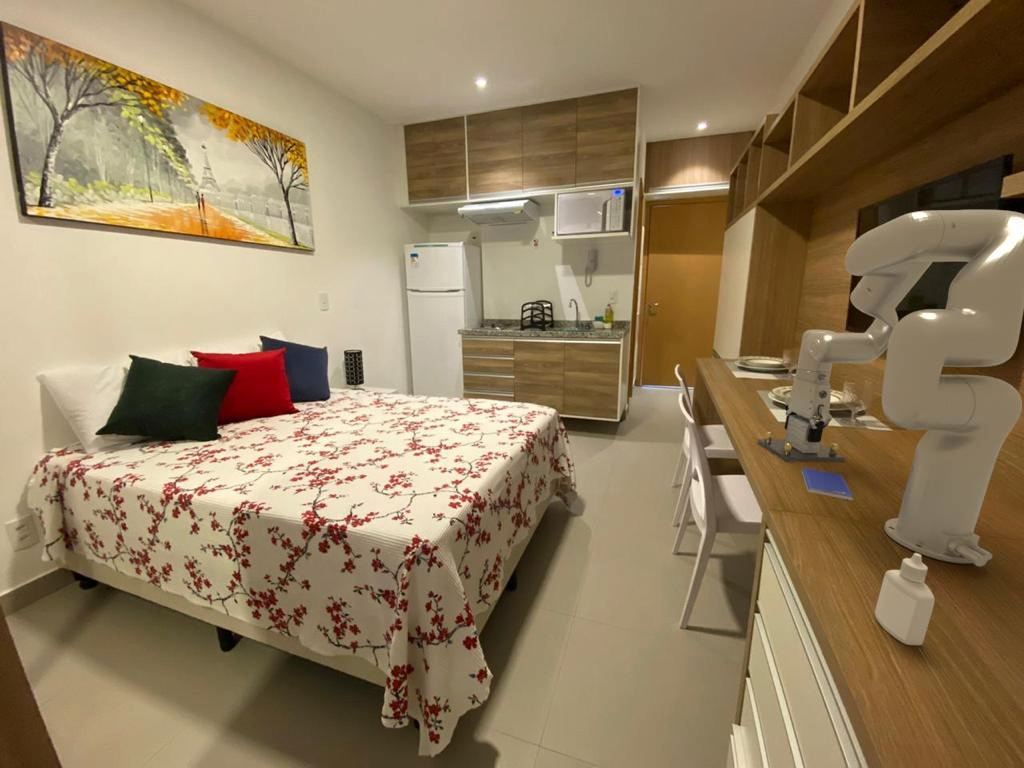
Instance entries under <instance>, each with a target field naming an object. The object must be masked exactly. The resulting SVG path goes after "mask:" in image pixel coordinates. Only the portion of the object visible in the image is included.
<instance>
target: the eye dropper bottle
mask: <svg viewBox="0 0 1024 768" xmlns="http://www.w3.org/2000/svg"><path fill="white" fill-rule="evenodd" d="M928 569H929V568H928V566H927V565H926V564H925V563H923V561H922V554H920V553H918V552H914V553H913V554H912V556H911V557H910V558H909V557H905V558H903V559H902V562H901V566H900V569H889V570H887V571H885V574H884V575H883V576H884V577H883V580H882V584H881V588H880V591H879V595H878V598H877V602H876V607H875V610H874V616H875V619H876V621H878V623H879V625H880V626H881V627H882V628H883V629H884V630H885V631H886V632H887V633H888V634H889V635H890V636H892V637H894V639H896V640H898V641H899V642H900V643H902V644H904V645H907V646H922V645H923V643H924V640H925V637H926V633H927V630H928V626H929V623H930V619H931V616H932V615H933V614H932V613H933V610H934V606H935V602H936V601H935V596H934V594H933V592H932V590H931V588H930V587H929V586H928V585H927V584H926V583H925V580H926V576H927V575H928V574H927V573H928Z"/></svg>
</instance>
